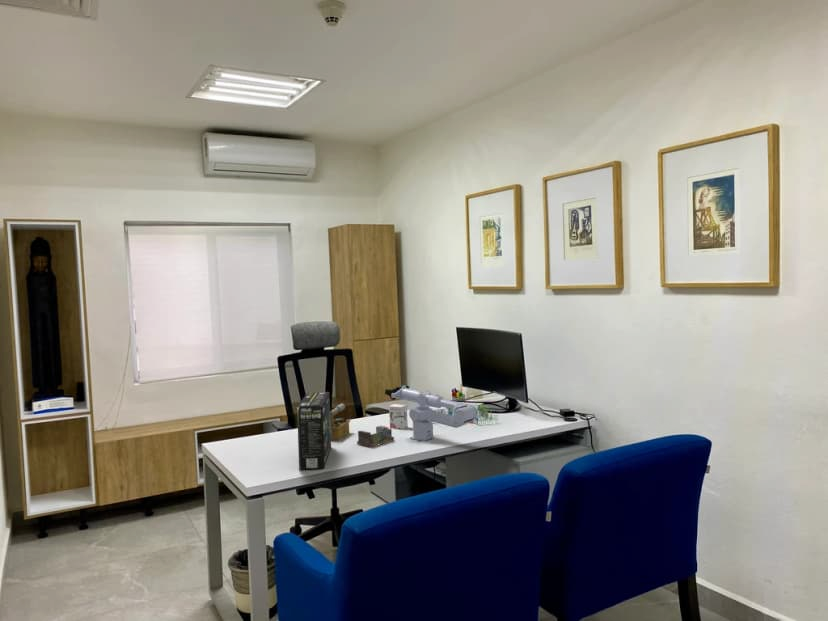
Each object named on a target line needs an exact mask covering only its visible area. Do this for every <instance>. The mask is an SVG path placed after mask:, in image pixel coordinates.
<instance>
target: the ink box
mask: <svg viewBox="0 0 828 621" xmlns="http://www.w3.org/2000/svg"><path fill="white" fill-rule="evenodd" d="M388 410H389V412H388V414H389V429H398V428H400V429H399V430H401V429H402V430H405V429H407V428H408V427H409V426H408V424H409V422H408V421H409V420H408V405H406V404H397V403H393V404H391V405H389V406H388Z"/></svg>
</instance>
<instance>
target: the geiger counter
mask: <svg viewBox="0 0 828 621" xmlns="http://www.w3.org/2000/svg"><path fill="white" fill-rule="evenodd" d="M345 408H346V405H345V404H344V403H340V404H338V405H336V406H335V407H334V409H332V410H330V430H331V441H340V440H341V439H342V438H344V437H345V436H347V435H348V434H350V423H351V419H347V418H345V417H344V418H342V417H340V418H339V417H338V418H335V417H334V416H336V415H337V414H339V413H340V412H342V411H343V410H345ZM334 418H335V419H334Z"/></svg>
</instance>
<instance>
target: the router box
mask: <svg viewBox="0 0 828 621" xmlns="http://www.w3.org/2000/svg"><path fill="white" fill-rule="evenodd" d="M330 401H331V400H330V392H329V391H317V392H316V391H315V392H311V391H310V392H307V393H306V394H305V395H304V397H303V398H302V399H301V401H300V402H299V403H298V405H297V406H296V414H297V416H296V417H297V418H296V419H297V445H298V446H297V447H298V448H297V449H298V470H299V471H300V470H307V471H308V470H316V469H324V468H325V466H326V463H327V460H328V457H329V454H330V451H331V449H332V440H331V430H330V411H331V405H330V404H331V402H330Z"/></svg>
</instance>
